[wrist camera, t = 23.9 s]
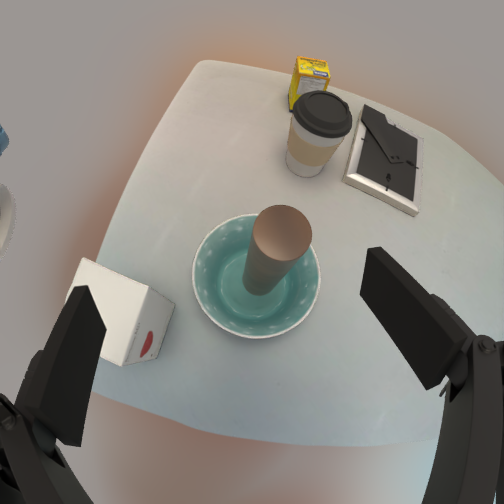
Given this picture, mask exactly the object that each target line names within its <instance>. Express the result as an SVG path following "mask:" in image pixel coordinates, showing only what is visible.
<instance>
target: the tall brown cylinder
mask: <svg viewBox="0 0 504 504" xmlns="http://www.w3.org/2000/svg"><path fill="white" fill-rule="evenodd" d="M311 240H312V230H311V226H310V224H309V222H308V220H307V218H306V217H305V216H304V215H303V214H302V213H301V212H300V211H298V210H297V209H295V208H293V207H290V206H286V205H275V206H271V207H268V208H266V209H265V210H263V211H262V212H261V213H260V214H259V215H258V216H257V218H256V220H255V222H254V225H253V230H252V234H251V239H250V244H249V248H248V253H247V258H246V262H245V267H244V272H243V276H242V282H243V285H244V287H245V289H246V290H247V291H248V292H249V293H250V294H252V295H255V296H263V295H266V294H268V293H270V292H271V291H272V290H273V289H274V287H275V286H276V285H277V284H278V283H279V282H280V281H281V280H282V278H283V277H284V276H285V275H286V274H287V273H288V272H289V271H290V269H291V268H292V267H293V266H294V265H295V264H296V263H297V261H298V260H299V259H300V258H301V257H302V256H303V255H304V253H305V252H306V251H307V250H308V248H309V246H310V244H311Z"/></svg>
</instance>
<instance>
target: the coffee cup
mask: <svg viewBox="0 0 504 504" xmlns="http://www.w3.org/2000/svg"><path fill="white" fill-rule="evenodd" d="M351 127H352V115H351V113H350V111H349V106H348V104H347V103H346V102H344V101H343V100H342V99H340V98H339V97H338V96H336V95H335V94H333V93H330V92H327V91H322V90H316V91H311V92H307V93H304V94H302V95H301V96H300V97H299V98H298V99H297V100H296V101H295V103H294V105H293V115H292V117H291V123H290V130H289V137H288V148H287V154H286V163H287V166H288V167H289V169H290V170H291V171H292V172H293V173H295V174H296V175H298V176H301V177H313V176H315V175H317V174H318V173H319V172H320V171H321V169H322V168H323V166H324V165H325V163H327V162H328V160H329V159H330V158H331V156H332V155H333V154H334V152H335V151H336V149H337V148H338V147H339V145H340V144H341V142H342V141H343V139H344V137H345V135H347V134H348V133H349V132H350V130H351Z"/></svg>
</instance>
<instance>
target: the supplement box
mask: <svg viewBox="0 0 504 504" xmlns="http://www.w3.org/2000/svg"><path fill="white" fill-rule="evenodd" d="M330 78H331V77H330V73H329V69H328V65H327V62H326V61H323V60H318V59H312V58H306V57H300V56H297V59H296V64H295V68H294V72H293V76H292V80H291V84H290V89H289V93H288V98H289V111H290V112H293V105H294V103H295V101H296V100H297V99H298V98H299V97H300V96H301V95H302V94H304V93H307V92H311V91H316V90H322V91H326V89H327V86H328V84H329V81H330Z"/></svg>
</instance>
